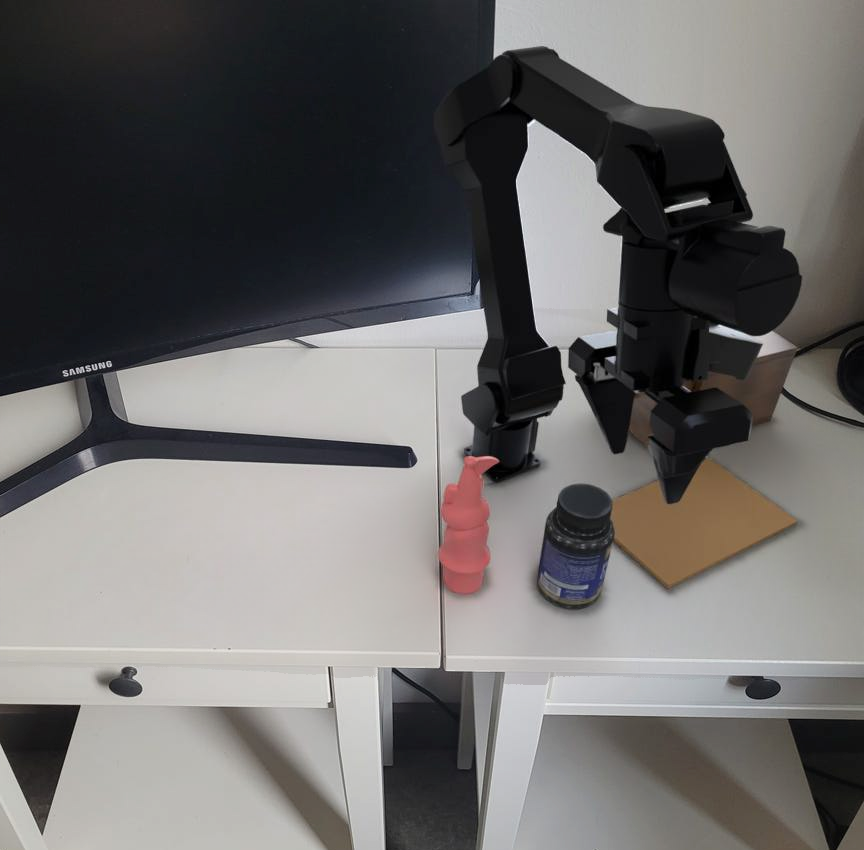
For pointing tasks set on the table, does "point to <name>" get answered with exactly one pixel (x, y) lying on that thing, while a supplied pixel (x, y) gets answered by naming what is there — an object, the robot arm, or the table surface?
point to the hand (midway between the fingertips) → (643, 476)
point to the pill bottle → (576, 547)
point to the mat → (694, 524)
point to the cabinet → (758, 378)
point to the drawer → (646, 414)
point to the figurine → (466, 528)
